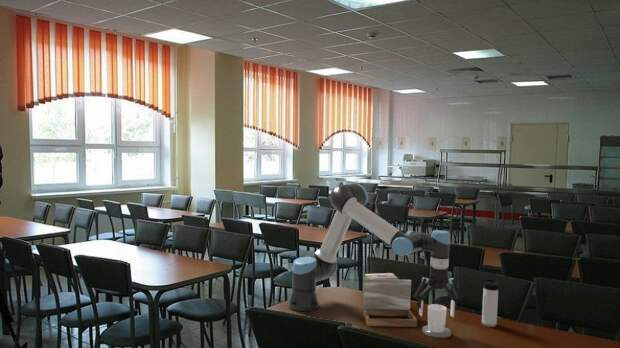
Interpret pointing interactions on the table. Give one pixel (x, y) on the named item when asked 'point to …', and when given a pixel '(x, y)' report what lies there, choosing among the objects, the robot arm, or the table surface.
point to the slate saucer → (436, 335)
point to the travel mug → (490, 303)
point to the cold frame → (388, 302)
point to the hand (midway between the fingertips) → (436, 315)
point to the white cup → (436, 318)
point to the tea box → (381, 276)
